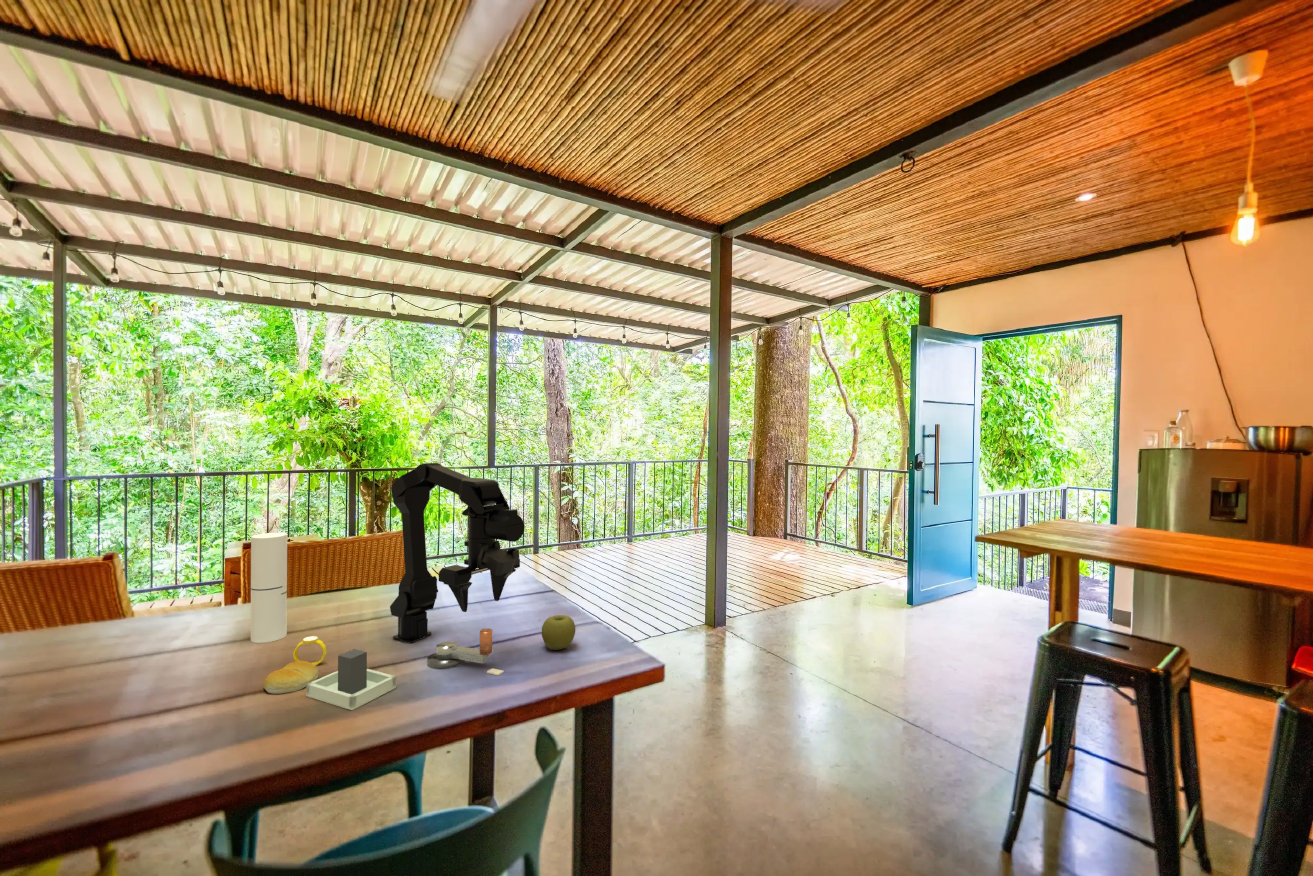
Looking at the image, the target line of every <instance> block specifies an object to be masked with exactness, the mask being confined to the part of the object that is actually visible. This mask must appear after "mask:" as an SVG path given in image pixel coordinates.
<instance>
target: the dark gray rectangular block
mask: <svg viewBox="0 0 1313 876" xmlns="http://www.w3.org/2000/svg"><path fill="white" fill-rule="evenodd" d="M367 657H368V652H367V651H364V650H362V649H356V648H354V649H352V650H349V651H345V652H343V653H341V654H339V655H338V656H337V671H338V691H341V692H345V693H348V694H351V695H352V694H354V693H356V692H358V691H360V690H362V689H364V688H366V687H367V669H368V658H367Z"/></svg>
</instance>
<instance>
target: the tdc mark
mask: <svg viewBox="0 0 1313 876" xmlns="http://www.w3.org/2000/svg"><path fill="white" fill-rule="evenodd" d="M504 672H505V671H504V670H502V669H497V668H493V667H492V668H490V669H488V670H487V671H486V674H490V675H494V676H497V677H498V676H500V675H502V674H503V673H504ZM504 674H505V673H504Z"/></svg>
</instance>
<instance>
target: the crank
mask: <svg viewBox="0 0 1313 876" xmlns="http://www.w3.org/2000/svg"><path fill="white" fill-rule="evenodd" d="M435 648H436V649H435V653H436V658H438V659H451V658H454V659H461V660H465V661H467V662H475V663H480V664H484V663H486V661H488V660H489V659H490V655H491V654H492V653H493V629H492V628H483V629H480V630H479V648H472V647H468V646H467V647H466V646H459V645H458V642H457V641H453V640H450V641H449V640H448V641H442V642H439V643H437V644H436V647H435Z"/></svg>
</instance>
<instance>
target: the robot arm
mask: <svg viewBox="0 0 1313 876" xmlns="http://www.w3.org/2000/svg"><path fill="white" fill-rule="evenodd" d="M499 485H500V484H499V483H498V482H497V481H496V480H495V479H488V478H478V477H477V478H476V477H471V476H468V475H465V474H463V473H460V472H458V471H456V470H453V469H451V468H448V467H445V466H443V465H442V464H440V463H438V462H424V463H421V464H419V465H418V466H416V467H415V468H414V469H412V470H409V471H408V472H406V473H404V474H402V475H401V476H400V477H397V478H396V479H395V480H394V482H393V483H392V484H391V488H390V492H391V495H392V500H393V504H394V506H395V507H396V508H397V510H398V511H399V513H401V527H402V541H403V542H402V543H403V555H404V556H403V558H404V575H403V576H402V578H401V580H400V582H399V584H398V596H397V597H396V598H395V599H394V600H393V602H391V605H390V606H389V610H390V615H391V616H394V617H397V634H396V635H393V636H392V639H393V640H397V641H401V642H405V643H410V644H412V643H415V642H417V641H419V640H422V639H425V638H426V637H428V636H430V635H431V636H432V631H428V627H429V626H428V624H429V623H428V615H427V614H428V612H427V611H429V610H433V609H434V606H435V604H436V603H435V602H436V600H437V596H438V593H439V589H438V582H439V583H440V582H441V583H443V585H446V586H448V587H449V589H450V590H451V592H452V594H453V595H454V597H455V599H456V602H457V604H458V606H459V607H460V610H461V612H463V613H467V611H468V606H469V589H470V587H471V586H472V584H473V582H471V579H472V575H476V574H479V573H483V572H487V571H489V573H490V581H491V589H492V596H493V599H494V601H495V602H499V601H500V598H501V597H502V592H503V590H504V587H505V585H506V582H507V580H508V578H509V576H511V575H512V574H513V573H515V572H516V571H517V569H518V568H520V567H521V559H520V550H519V549H518V548H516V547H511V548H509V549H504V550H503V549H501V547H500V546H501V543H500V541H506V542H511V543H513V542H514V543H515V542H518V541H519V540H520V539H521V538H522V537H523V535H524V532H525V527H526V526H525V523H524V520H523V518H522V517H521V516H520V515H518V512H519V511H518V509H515V508H514V509H511V507H510V506H509V504H508V501H507V500H506V497H505V496H504V493H503V491H502V490H501V488H500V486H499ZM437 486H438V487H440V488H443V489H445V490H447V491H450V492H452V493H454V494H456V495H457V496H458V498H459V501H460V502H462V503H463V504H465V505H466V506H467V507H466V508H465V509H464V510H463V511H462V512H461V514H462V516H466V517H468V531H467V533H468V538H467V540H465V541H464V543H463V544H464V545H463V546H464V547H468V549H467V558H466V559H463V564H464V565H467V566H462V565H456V564H452V565H449V566H445V567H444V566H443V567H442V568H440V570H439V571H438V578H437V577H436V575H432V574H431V572H430V571H429V570H428V562H427V546H426V532H425V531H426V529H425V516H424V515H425V514H424V513H425V509H426V507H427V506H428V504H429V502H430V500H431V499H430V496H431V494H430V493H431V491H432V490H433V489H434V488H435V487H437Z"/></svg>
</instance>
